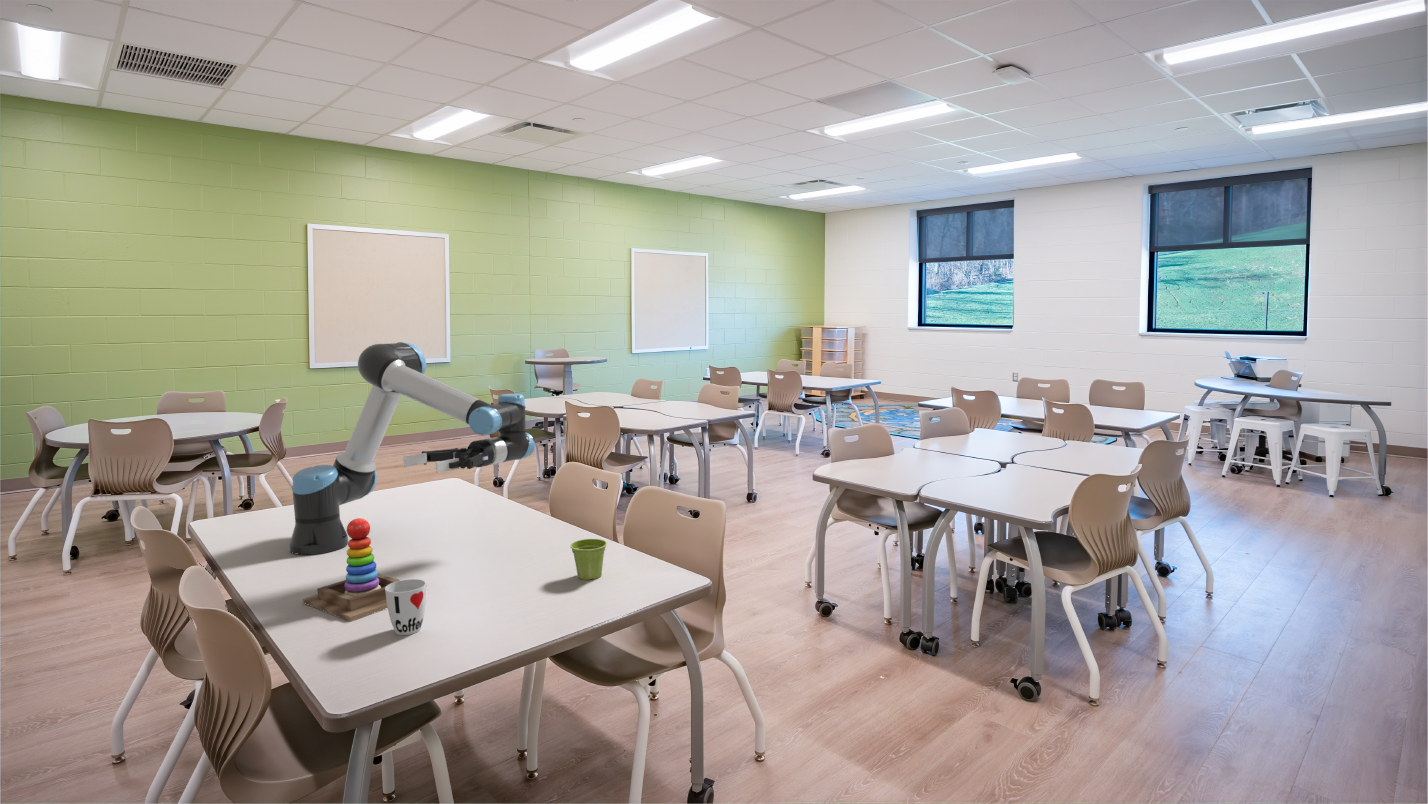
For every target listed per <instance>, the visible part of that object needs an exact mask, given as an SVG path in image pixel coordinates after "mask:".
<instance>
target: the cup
mask: <svg viewBox="0 0 1428 804" xmlns="http://www.w3.org/2000/svg"><path fill="white" fill-rule="evenodd" d="M385 592H386V600H387V611H388V616H389V619H390V623H391V626H392V628H393V631H394V633H395V634H396V635H398V636H410V635H413V634H416V633H418V632H420V631H421V629H422V625H423V622H424V618H425V611H426V603H427V582H426V580H424V579H419V578H408V579H401V581H396V582H393V583H391V584H389V585H387V586H386V587H385Z"/></svg>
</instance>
